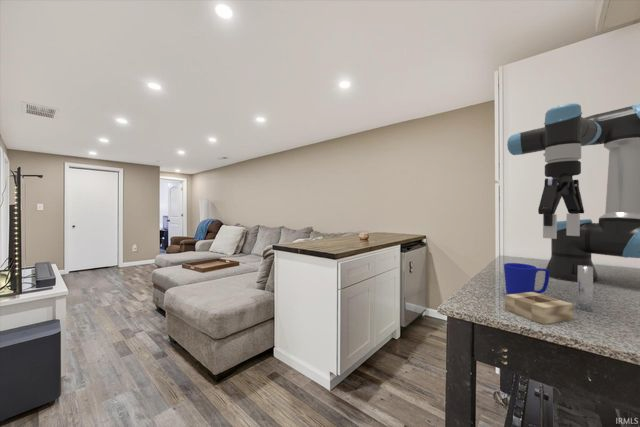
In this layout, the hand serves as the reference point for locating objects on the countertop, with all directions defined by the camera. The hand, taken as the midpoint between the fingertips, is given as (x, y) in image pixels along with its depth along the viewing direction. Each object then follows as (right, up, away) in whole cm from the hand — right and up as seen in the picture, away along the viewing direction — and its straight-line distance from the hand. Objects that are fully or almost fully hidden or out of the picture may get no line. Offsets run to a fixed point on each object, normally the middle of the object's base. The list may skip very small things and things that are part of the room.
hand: (561, 237), depth 74 cm
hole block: (-11, -20, -5) cm, 23 cm away
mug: (-4, -20, +8) cm, 22 cm away
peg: (+5, -20, -2) cm, 20 cm away
